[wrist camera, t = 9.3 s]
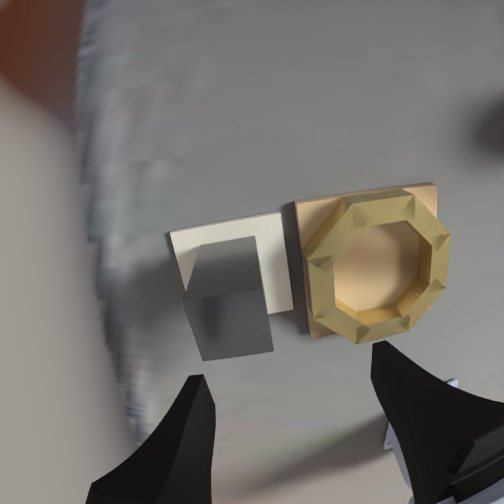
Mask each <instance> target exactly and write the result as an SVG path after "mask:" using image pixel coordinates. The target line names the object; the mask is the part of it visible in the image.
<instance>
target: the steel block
mask: <svg viewBox="0 0 504 504" xmlns="http://www.w3.org/2000/svg"><path fill="white" fill-rule="evenodd" d="M183 302H184V305H185V309H186V312H187V315H188V318H189V321H190V324H191V328H192V331H193V334H194V337H195V340H196V343H197V346H198V349H199V352H200V355H201V358H202V361H209V360H217V359H225V358H232V357H240V356H246V355H253V354H260V353H266V352H272V351H274V349H273V343H272V336H271V330H270V323H269V317H268V310H267V304H266V297H265V291H264V284H263V279H262V273H261V267H260V262H259V256H258V250H257V244H256V239H255V236H249V237H243V238H238V239H232V240H226V241H220V242H215V243H209V244H204V245H200V247H199V250H198V254H197V257H196V260H195V263H194V267H193V270H192V273H191V276H190V280H189V283H188V286H187V290H186V293H185V297H184V300H183Z"/></svg>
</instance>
